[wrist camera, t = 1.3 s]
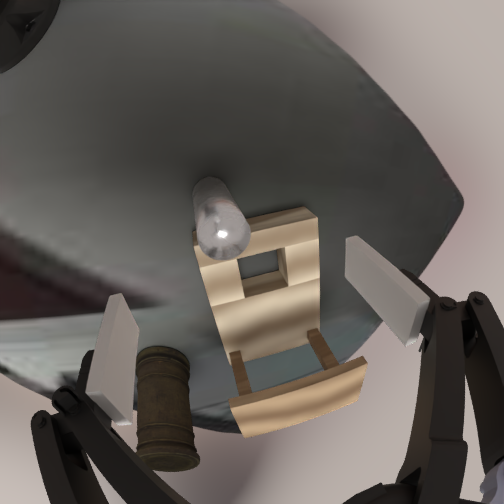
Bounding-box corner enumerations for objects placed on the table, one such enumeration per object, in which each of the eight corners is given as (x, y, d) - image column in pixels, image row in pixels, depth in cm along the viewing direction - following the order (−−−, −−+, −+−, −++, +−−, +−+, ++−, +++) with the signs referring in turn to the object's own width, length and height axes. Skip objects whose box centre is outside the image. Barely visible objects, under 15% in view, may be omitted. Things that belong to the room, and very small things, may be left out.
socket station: (188, 232, 33) (195, 325, 19) (307, 205, 35) (385, 271, 21) (223, 349, 43) (244, 438, 29) (312, 324, 45) (357, 400, 31)
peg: (189, 181, 30) (191, 218, 20) (224, 173, 30) (246, 205, 20) (196, 214, 32) (204, 265, 22) (230, 206, 32) (254, 253, 22)
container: (137, 341, 38) (131, 448, 23) (194, 349, 41) (209, 453, 26) (134, 376, 42) (132, 470, 26) (184, 382, 45) (196, 474, 29)
